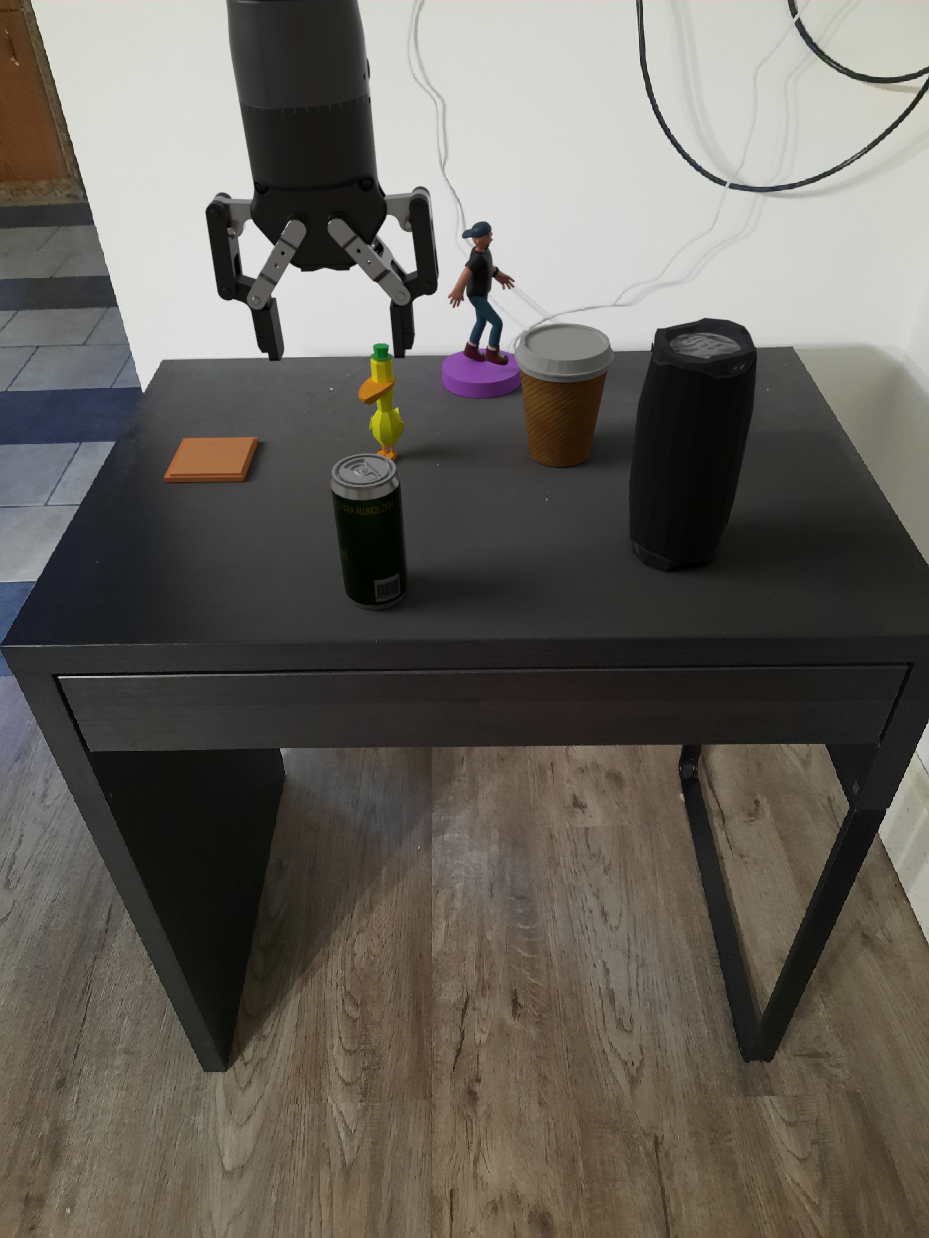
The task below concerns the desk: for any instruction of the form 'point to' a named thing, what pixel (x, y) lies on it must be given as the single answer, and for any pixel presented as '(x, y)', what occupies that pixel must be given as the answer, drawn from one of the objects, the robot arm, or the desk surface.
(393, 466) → the beer can
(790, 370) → the desk surface
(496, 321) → the figurine
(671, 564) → the portable speaker
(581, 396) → the disposable coffee cup
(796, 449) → the desk surface
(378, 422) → the toy figure
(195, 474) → the orange square panel
